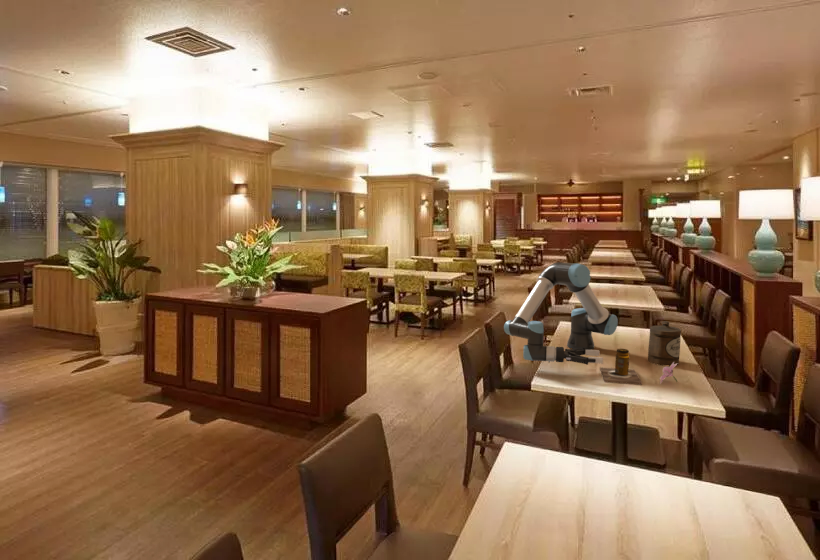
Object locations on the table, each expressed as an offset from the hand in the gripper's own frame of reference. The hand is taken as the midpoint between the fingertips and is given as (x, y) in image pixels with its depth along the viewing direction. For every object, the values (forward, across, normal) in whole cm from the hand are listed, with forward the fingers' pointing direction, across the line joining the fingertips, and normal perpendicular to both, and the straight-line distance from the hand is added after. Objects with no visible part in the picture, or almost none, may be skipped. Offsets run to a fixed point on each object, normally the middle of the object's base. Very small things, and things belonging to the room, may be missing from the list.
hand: (601, 356), depth 250 cm
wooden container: (+35, -32, -10) cm, 48 cm away
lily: (+29, +3, -10) cm, 31 cm away
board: (+9, 0, -9) cm, 13 cm away
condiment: (+9, +1, -8) cm, 12 cm away
